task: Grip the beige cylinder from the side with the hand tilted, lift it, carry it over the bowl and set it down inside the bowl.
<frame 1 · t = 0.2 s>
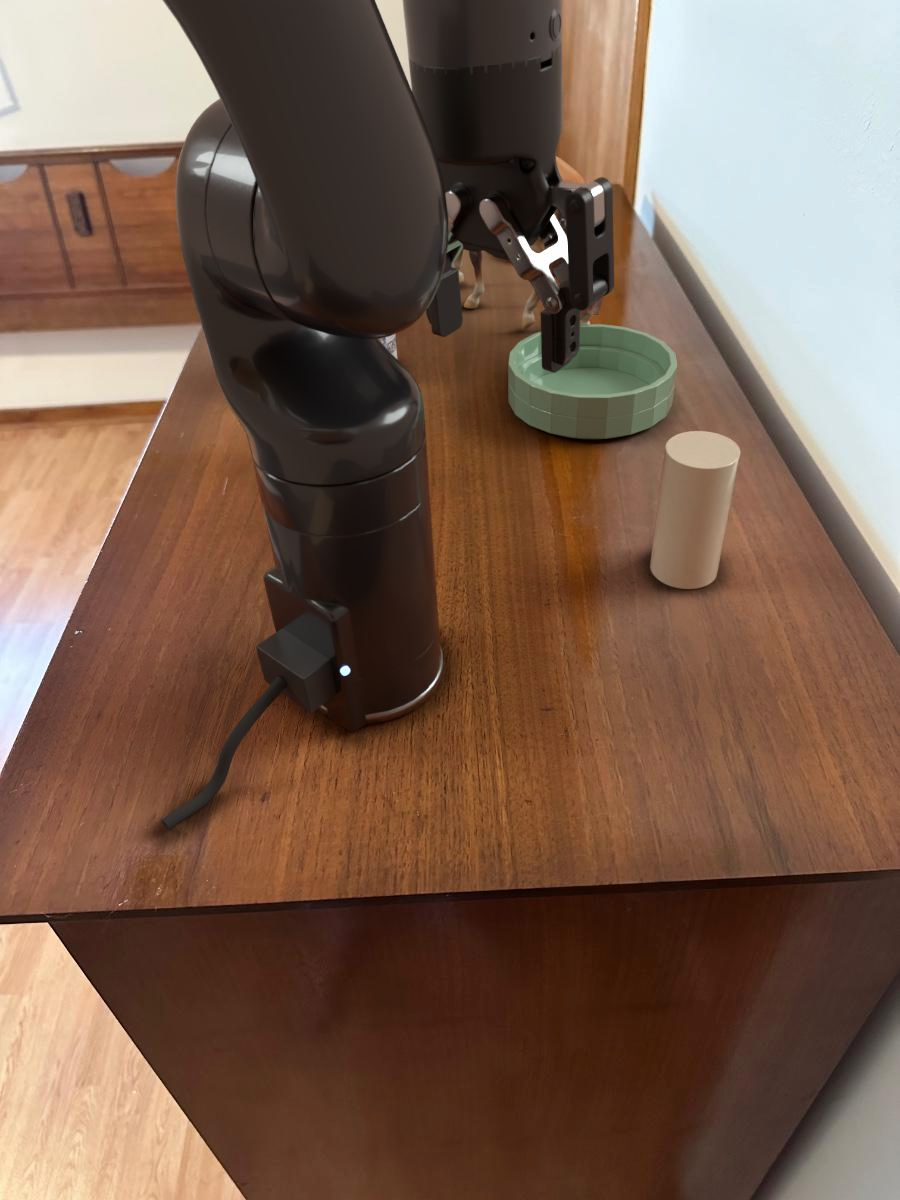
hand: (500, 348, 54), 17 cm above the dresser, tool pointing down, fingers open, 8 cm apart
horse figurine: (493, 325, 99), on the dresser, touching bowl
beige cylinder: (683, 568, 65), on the dresser
bowl: (589, 402, 84), on the dresser
bath foam: (365, 373, 91), on the dresser
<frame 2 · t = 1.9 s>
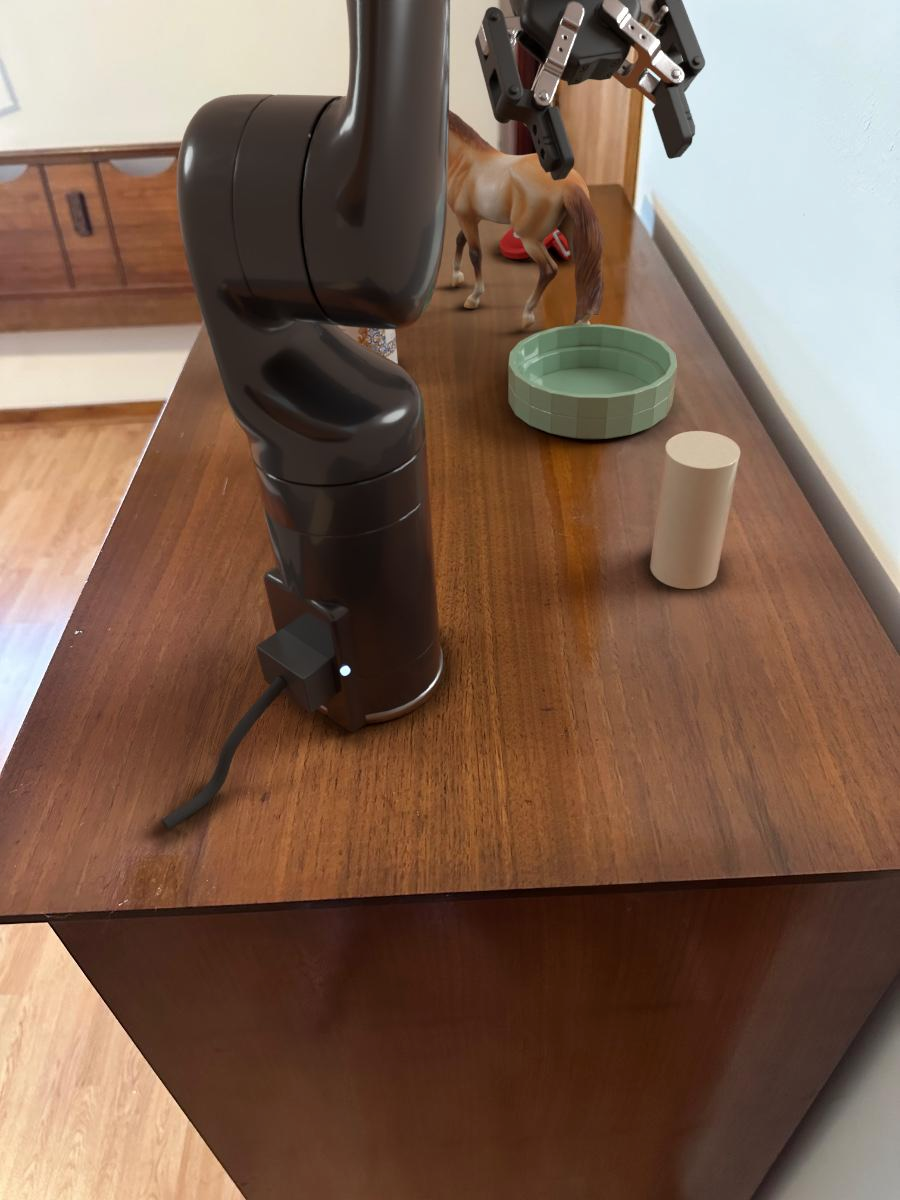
hand: (624, 162, 57), 25 cm above the dresser, tool tilted 45°, fingers open, 8 cm apart
nothing on the dresser moved.
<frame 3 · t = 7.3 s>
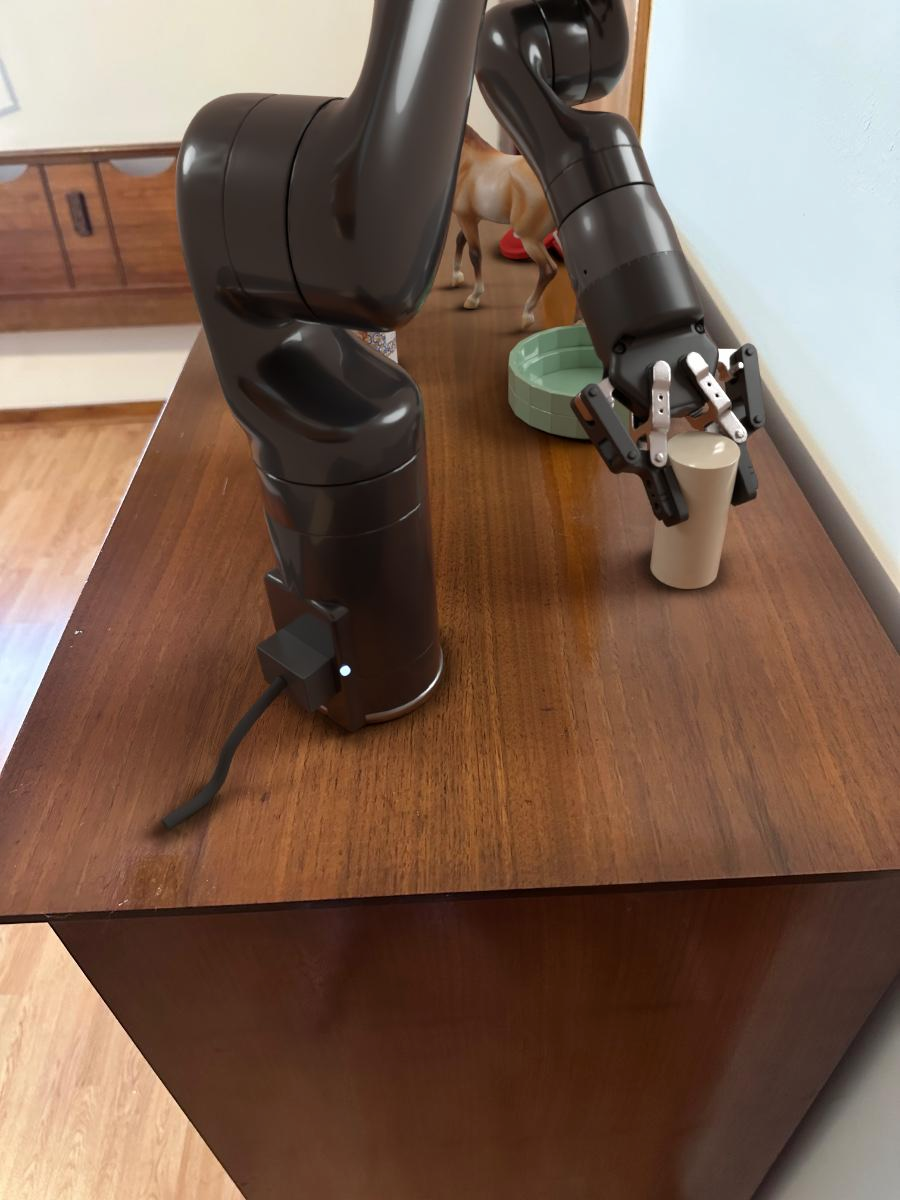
hand: (711, 511, 59), 6 cm above the dresser, tool tilted 45°, fingers closed on beige cylinder, 4 cm apart
beige cylinder: (683, 568, 65), on the dresser, touching gripper
everything else where it was.
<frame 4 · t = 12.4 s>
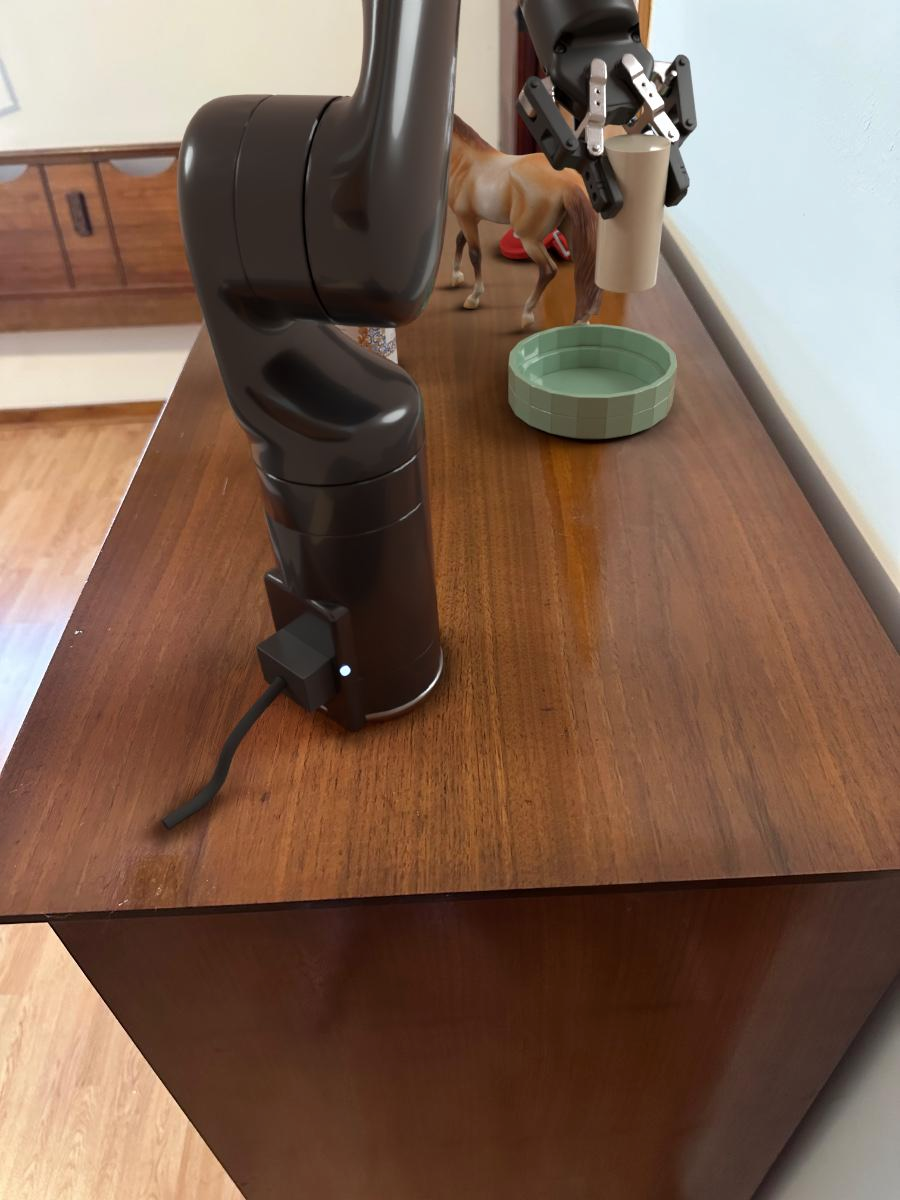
hand: (646, 206, 64), 20 cm above the dresser, tool tilted 45°, fingers closed on beige cylinder, 4 cm apart
beige cylinder: (625, 281, 70), point 14 cm above the dresser, touching gripper
everything else where it was.
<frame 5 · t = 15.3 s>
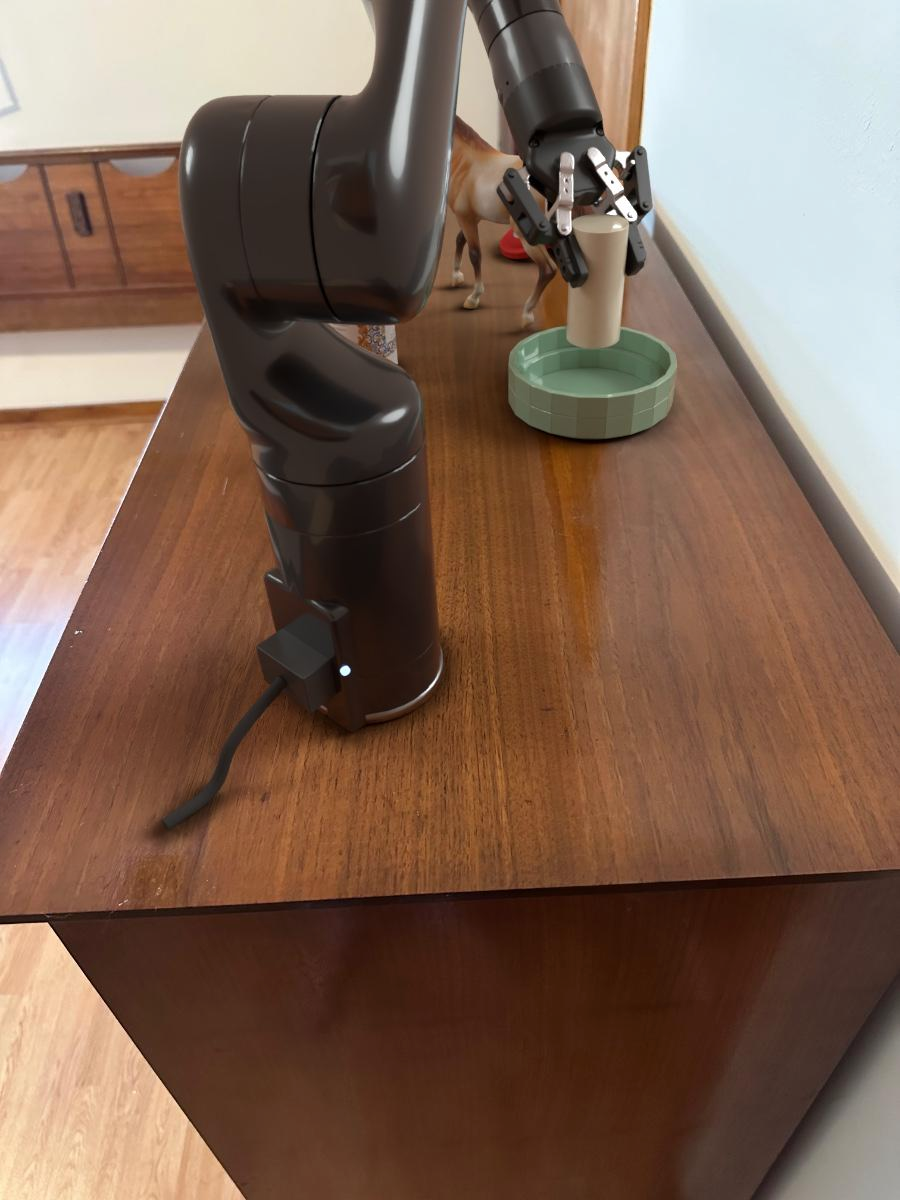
hand: (608, 276, 75), 13 cm above the dresser, tool tilted 45°, fingers closed on beige cylinder, 4 cm apart
beige cylinder: (592, 337, 80), point 6 cm above the dresser, touching gripper
everything else where it was.
when the fingers open (7 cm above the dresser, at t = 17.4 s): beige cylinder stays where it is, resting on bowl.
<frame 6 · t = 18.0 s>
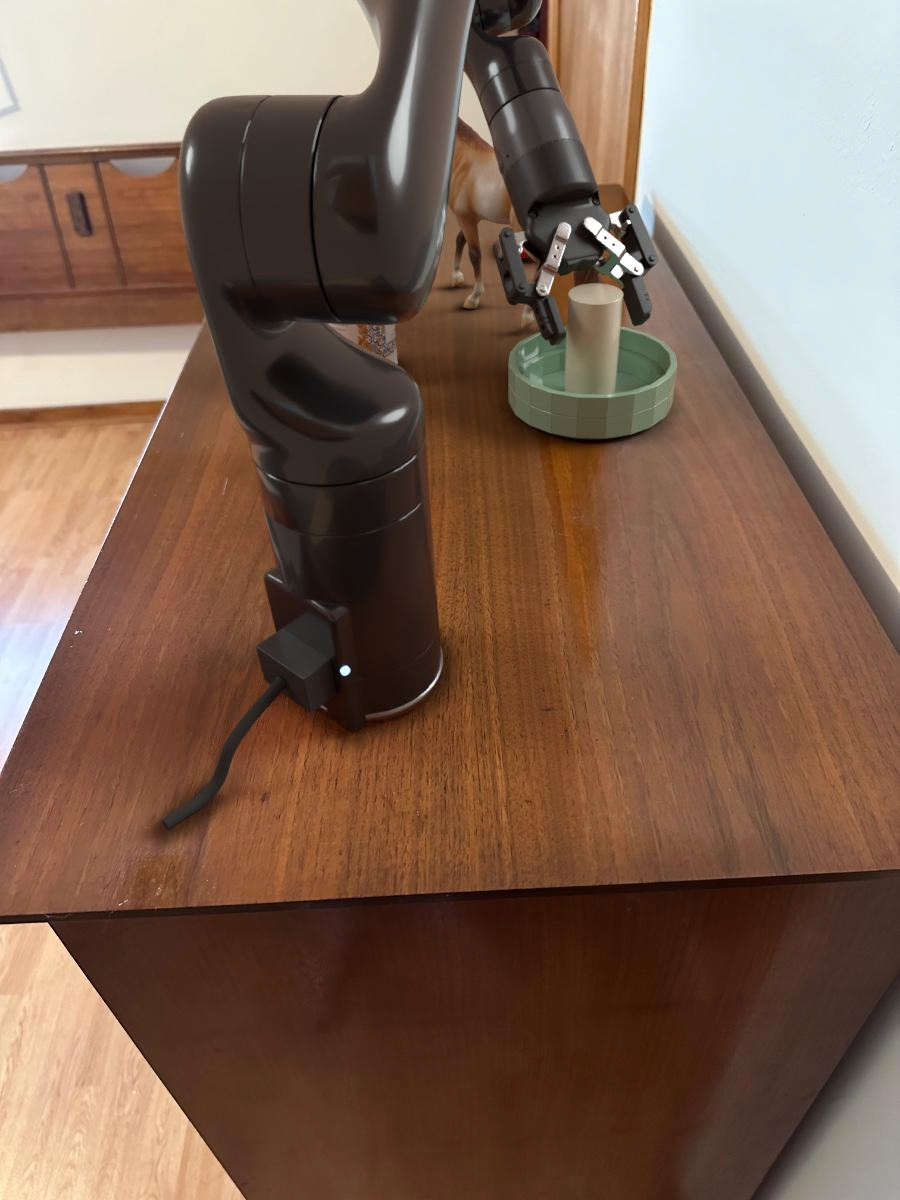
hand: (601, 331, 78), 8 cm above the dresser, tool tilted 45°, fingers open, 8 cm apart
beige cylinder: (589, 397, 84), resting on bowl
everything else where it was.
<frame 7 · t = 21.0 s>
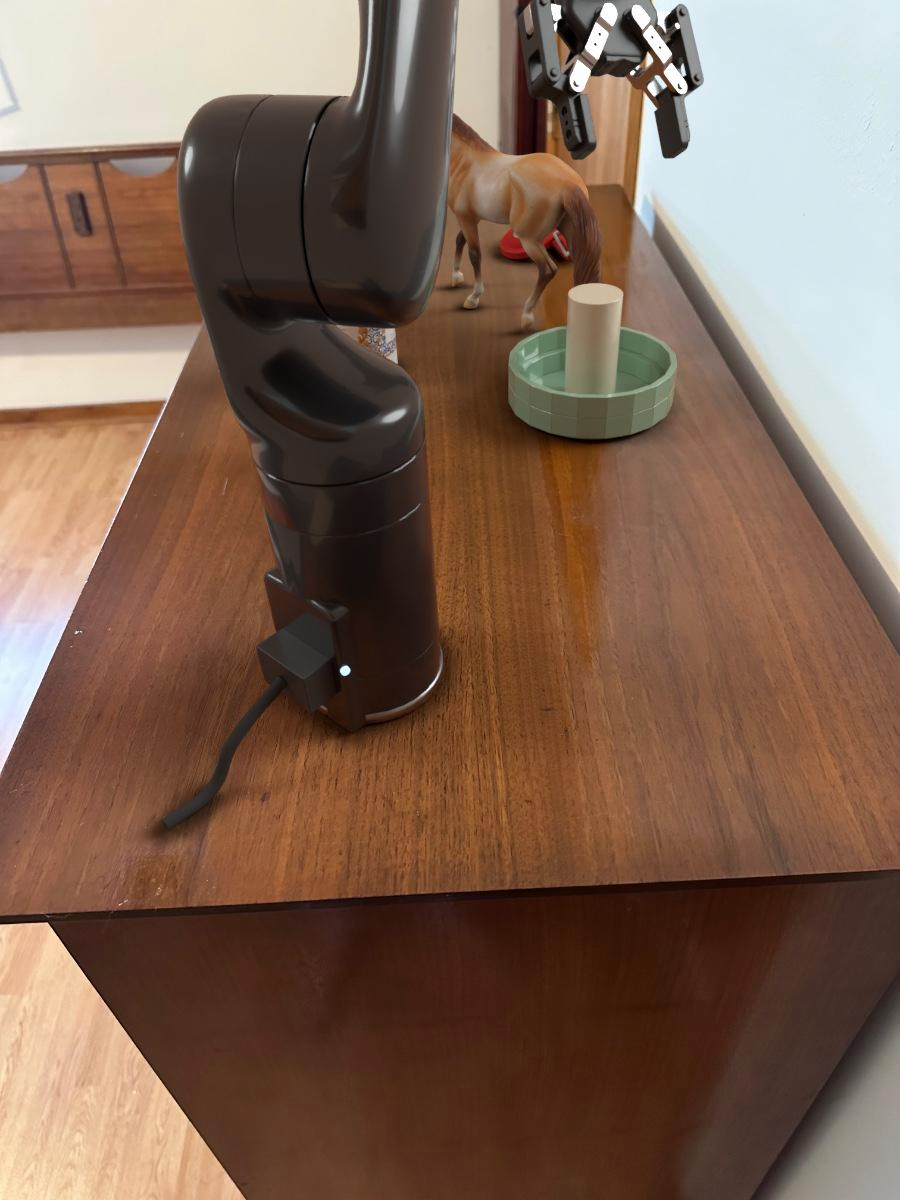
hand: (632, 154, 65), 23 cm above the dresser, tool tilted 35°, fingers open, 8 cm apart
nothing on the dresser moved.
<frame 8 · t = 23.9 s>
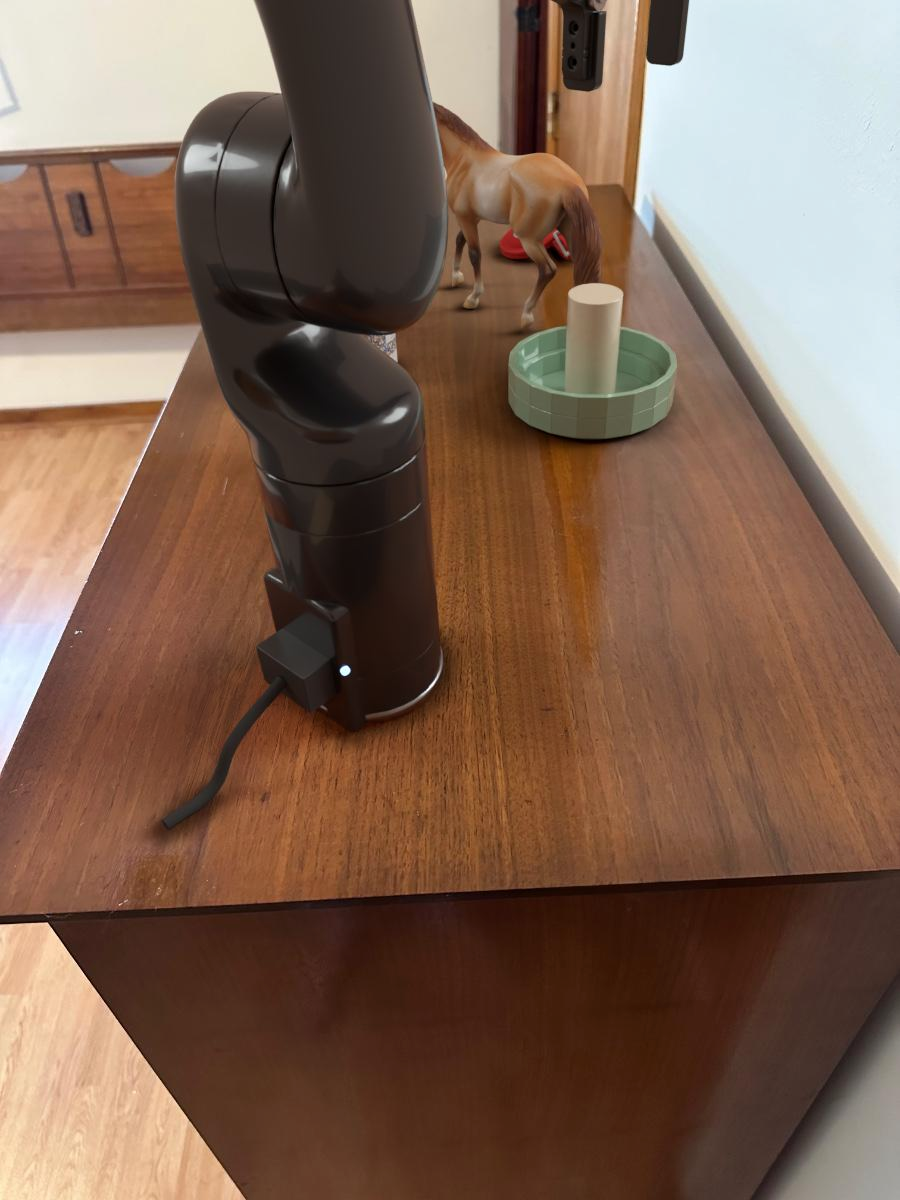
hand: (624, 76, 52), 30 cm above the dresser, tool pointing down, fingers open, 8 cm apart
nothing on the dresser moved.
at the end: beige cylinder inside the target area in the bowl (0.1 cm from its centre), point 0.5 cm above the bowl's base; the gripper is holding nothing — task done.
